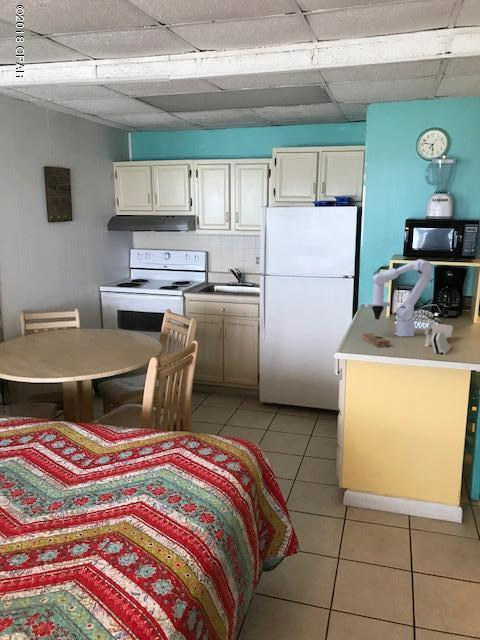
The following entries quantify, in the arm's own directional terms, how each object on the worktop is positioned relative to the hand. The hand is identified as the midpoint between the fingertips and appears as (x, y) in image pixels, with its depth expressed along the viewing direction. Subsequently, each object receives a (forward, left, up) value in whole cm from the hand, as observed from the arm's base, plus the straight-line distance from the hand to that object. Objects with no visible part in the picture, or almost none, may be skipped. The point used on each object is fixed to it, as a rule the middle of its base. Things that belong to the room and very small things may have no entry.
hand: (377, 319), depth 300 cm
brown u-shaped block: (+9, +15, -9) cm, 20 cm away
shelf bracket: (-25, +22, -10) cm, 35 cm away
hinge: (-16, +37, -10) cm, 41 cm away
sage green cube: (+7, +15, -10) cm, 19 cm away
